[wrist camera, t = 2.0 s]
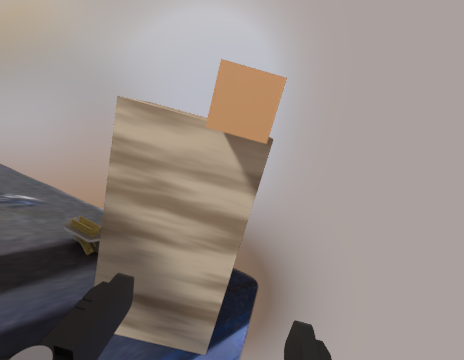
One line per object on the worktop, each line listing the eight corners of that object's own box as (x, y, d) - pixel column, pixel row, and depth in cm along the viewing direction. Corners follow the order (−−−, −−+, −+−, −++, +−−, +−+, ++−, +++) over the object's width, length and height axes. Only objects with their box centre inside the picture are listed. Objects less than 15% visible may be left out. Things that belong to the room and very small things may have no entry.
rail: (266, 144, 14) (286, 78, 13) (205, 127, 14) (221, 58, 13) (249, 128, 39) (255, 105, 38) (227, 122, 39) (233, 99, 38)
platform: (86, 288, 38) (89, 255, 36) (19, 244, 43) (19, 214, 41) (137, 254, 49) (142, 228, 47) (79, 223, 54) (82, 198, 52)
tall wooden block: (205, 355, 32) (273, 139, 24) (89, 327, 32) (117, 95, 23) (213, 301, 42) (263, 133, 34) (124, 279, 41) (153, 102, 33)
